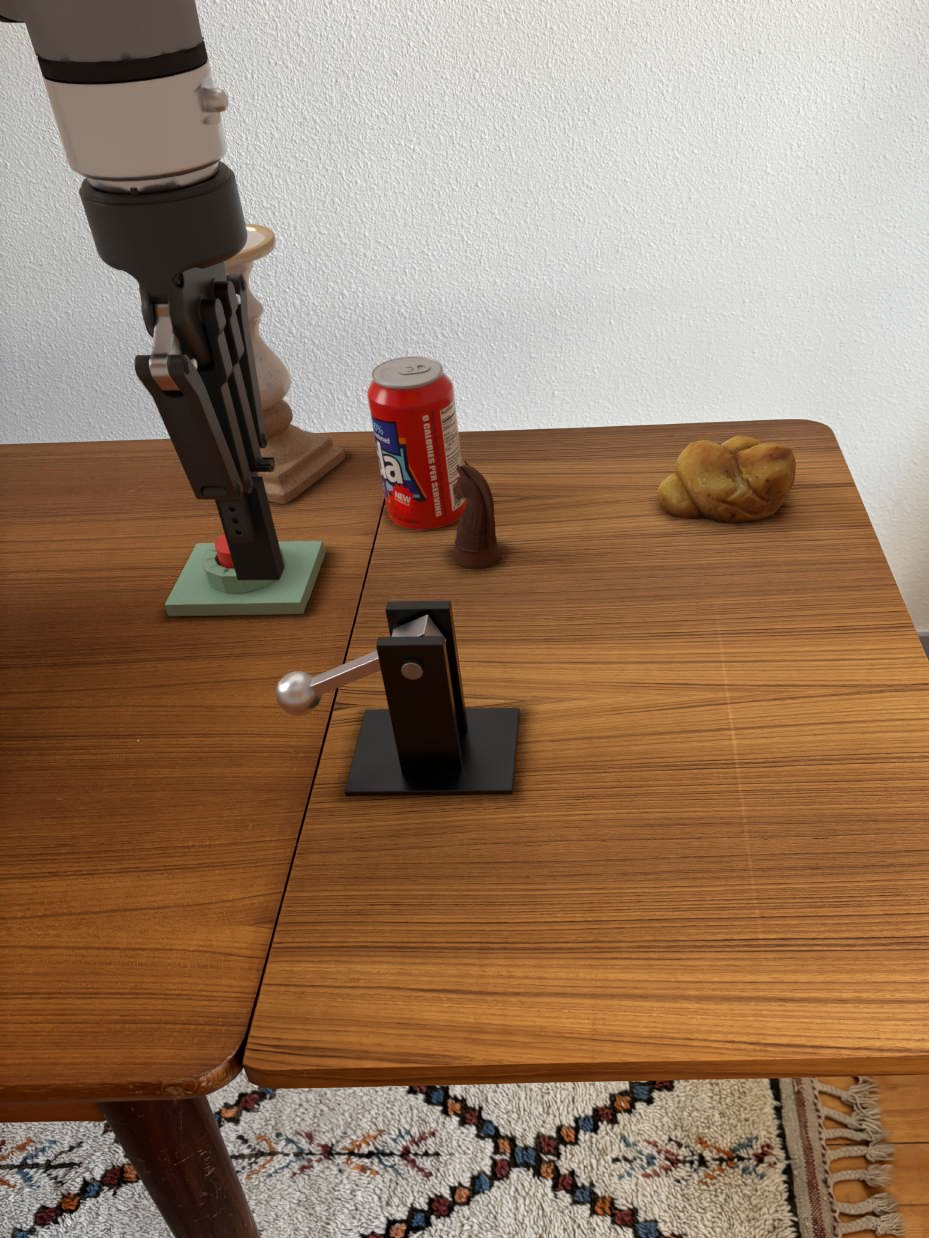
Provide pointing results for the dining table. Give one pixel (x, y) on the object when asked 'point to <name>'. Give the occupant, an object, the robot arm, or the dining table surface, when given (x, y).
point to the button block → (245, 584)
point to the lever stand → (430, 720)
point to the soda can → (416, 441)
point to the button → (223, 552)
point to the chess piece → (475, 521)
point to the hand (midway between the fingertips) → (261, 573)
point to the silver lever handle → (339, 673)
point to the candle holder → (279, 396)
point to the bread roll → (729, 480)
